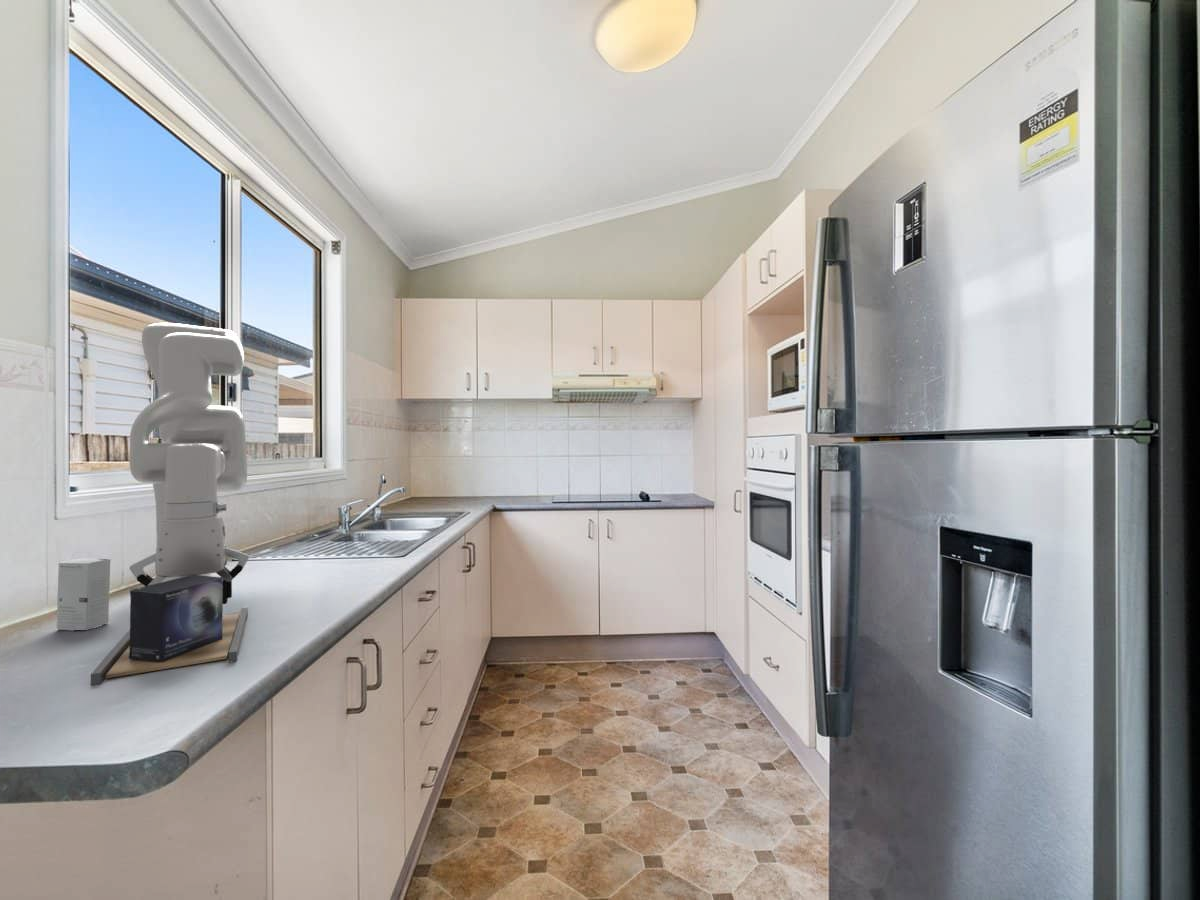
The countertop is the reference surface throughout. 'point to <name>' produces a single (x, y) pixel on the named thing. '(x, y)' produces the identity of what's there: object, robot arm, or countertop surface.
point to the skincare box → (83, 593)
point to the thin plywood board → (199, 655)
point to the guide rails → (124, 643)
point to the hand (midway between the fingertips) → (192, 606)
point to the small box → (175, 617)
